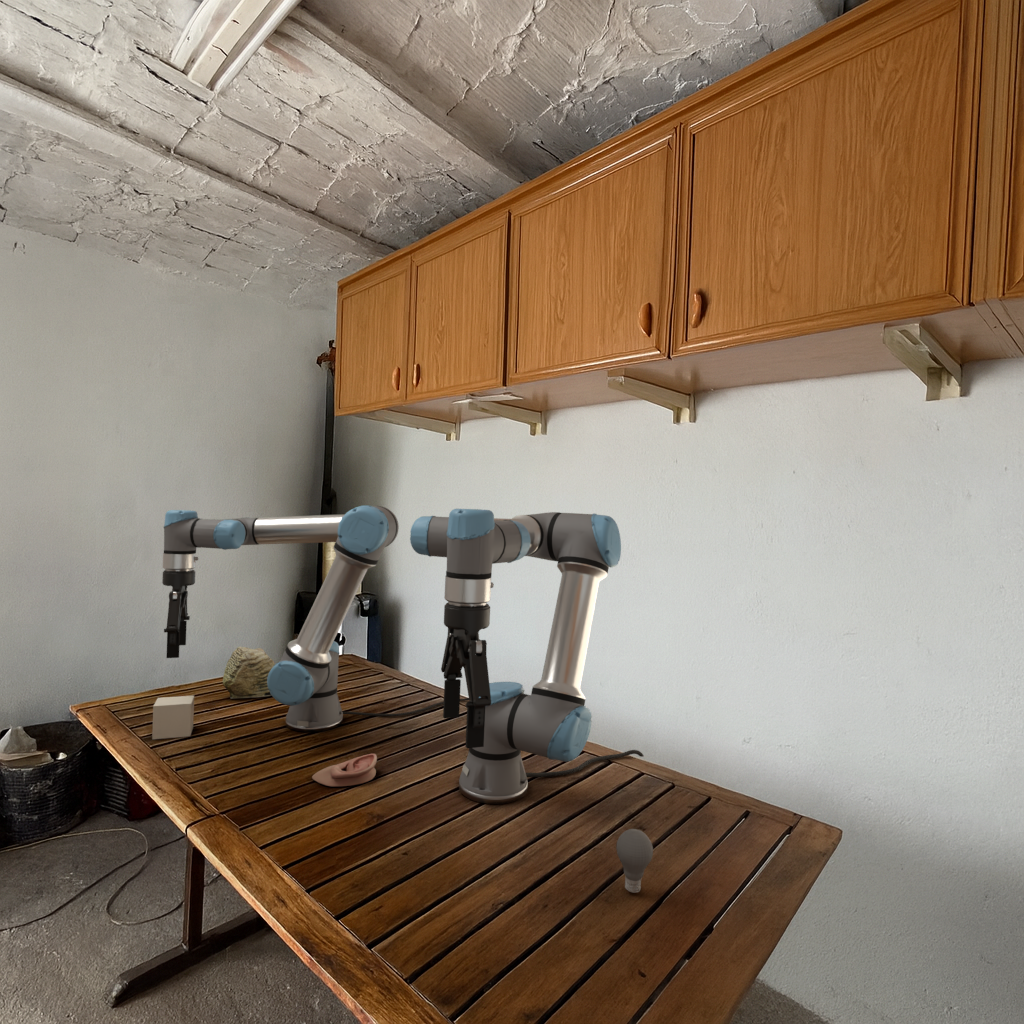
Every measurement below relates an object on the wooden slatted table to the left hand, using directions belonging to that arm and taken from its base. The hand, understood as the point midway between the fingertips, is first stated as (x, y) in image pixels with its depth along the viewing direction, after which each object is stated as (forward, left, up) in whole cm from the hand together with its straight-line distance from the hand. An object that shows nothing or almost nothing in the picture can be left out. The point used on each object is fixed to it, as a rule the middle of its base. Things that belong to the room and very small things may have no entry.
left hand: (176, 651), depth 164 cm
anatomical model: (-15, +52, -21) cm, 59 cm away
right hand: (-2, +99, +5) cm, 99 cm away
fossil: (-31, -15, -21) cm, 40 cm away
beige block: (0, 0, -21) cm, 21 cm away
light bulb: (-22, +122, -21) cm, 125 cm away
